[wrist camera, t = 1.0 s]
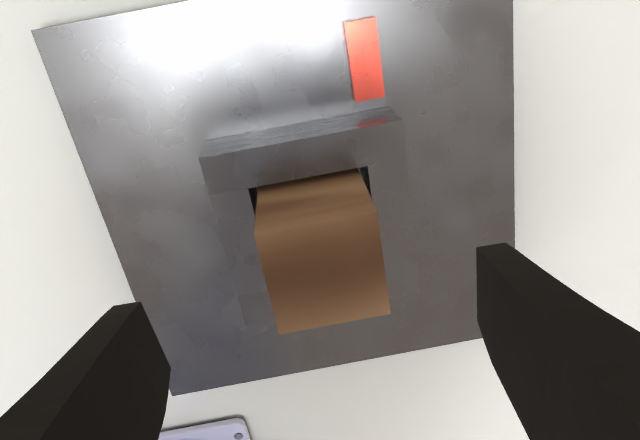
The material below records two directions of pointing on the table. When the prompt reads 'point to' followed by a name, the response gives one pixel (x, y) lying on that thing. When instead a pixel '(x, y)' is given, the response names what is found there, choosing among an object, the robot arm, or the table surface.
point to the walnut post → (321, 251)
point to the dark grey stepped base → (291, 161)
